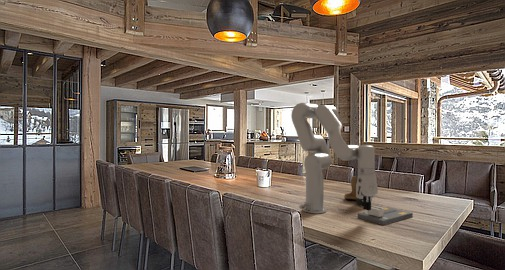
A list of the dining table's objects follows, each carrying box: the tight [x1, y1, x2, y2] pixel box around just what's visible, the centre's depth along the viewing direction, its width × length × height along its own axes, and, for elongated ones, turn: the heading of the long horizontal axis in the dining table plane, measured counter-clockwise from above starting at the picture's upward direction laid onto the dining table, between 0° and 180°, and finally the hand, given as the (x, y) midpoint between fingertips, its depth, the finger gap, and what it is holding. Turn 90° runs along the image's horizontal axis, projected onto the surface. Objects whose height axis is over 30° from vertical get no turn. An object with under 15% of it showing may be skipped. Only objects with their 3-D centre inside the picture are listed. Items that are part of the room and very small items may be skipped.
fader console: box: [357, 206, 413, 226], centre depth 151 cm, size 25×14×2 cm, turn 123°
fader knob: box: [367, 205, 384, 217], centre depth 147 cm, size 4×6×4 cm, turn 33°
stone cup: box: [344, 175, 357, 201], centre depth 189 cm, size 15×12×15 cm
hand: (367, 209), depth 142 cm, fingers closed
